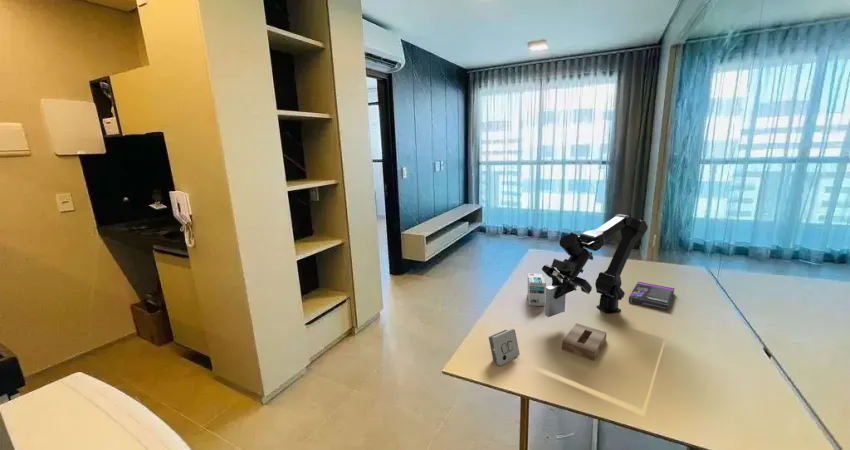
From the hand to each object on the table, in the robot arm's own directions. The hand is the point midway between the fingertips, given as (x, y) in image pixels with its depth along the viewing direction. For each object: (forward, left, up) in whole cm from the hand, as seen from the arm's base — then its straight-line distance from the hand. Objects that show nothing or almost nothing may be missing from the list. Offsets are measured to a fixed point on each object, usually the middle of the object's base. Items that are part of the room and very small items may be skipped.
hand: (552, 297), depth 121 cm
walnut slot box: (-3, +13, -13) cm, 19 cm away
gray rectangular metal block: (-1, 0, -7) cm, 7 cm away
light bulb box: (-9, -22, -14) cm, 28 cm away
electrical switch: (+25, +8, -14) cm, 29 cm away
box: (-55, -5, -14) cm, 58 cm away
